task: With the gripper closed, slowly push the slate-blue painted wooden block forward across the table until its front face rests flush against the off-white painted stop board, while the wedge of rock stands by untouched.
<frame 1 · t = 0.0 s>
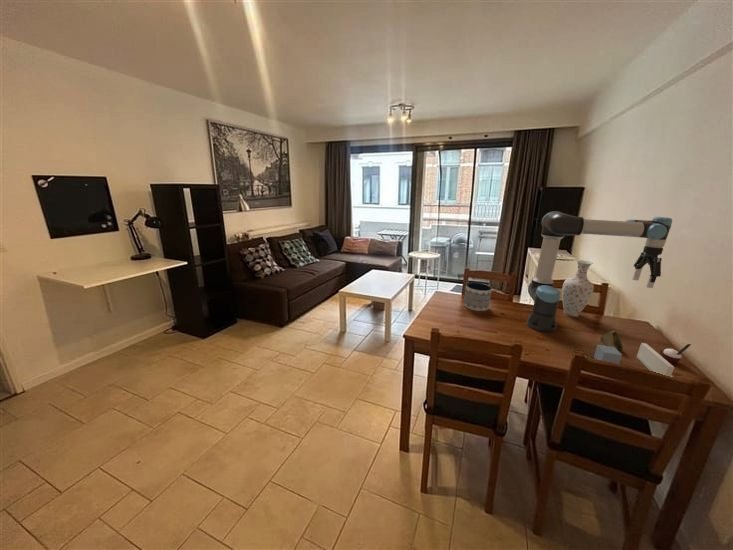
hand: (642, 283, 168), 28 cm above the table, fingers open, 13 cm apart
block: (605, 362, 142), on the table
vase: (571, 314, 194), on the table
planter: (475, 306, 202), on the table
rock: (610, 346, 157), on the table
board: (651, 369, 137), on the table
cocoa: (669, 361, 144), on the table
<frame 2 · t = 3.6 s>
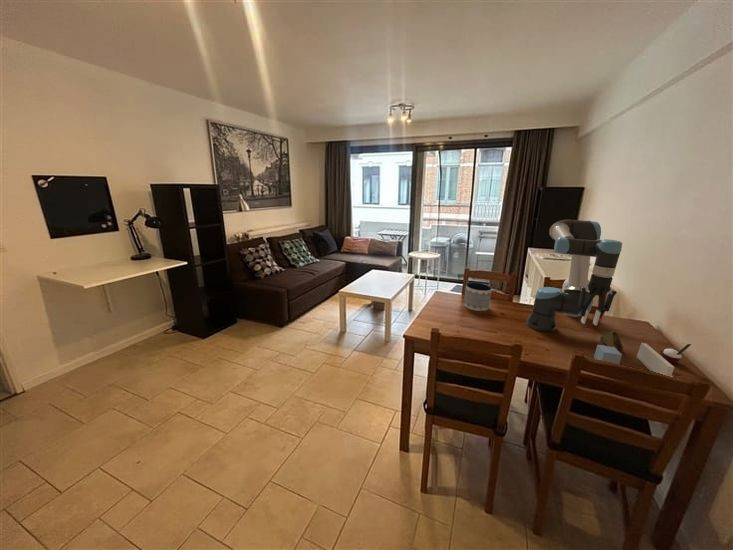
hand: (588, 323, 139), 19 cm above the table, fingers open, 4 cm apart
nothing on the table moved.
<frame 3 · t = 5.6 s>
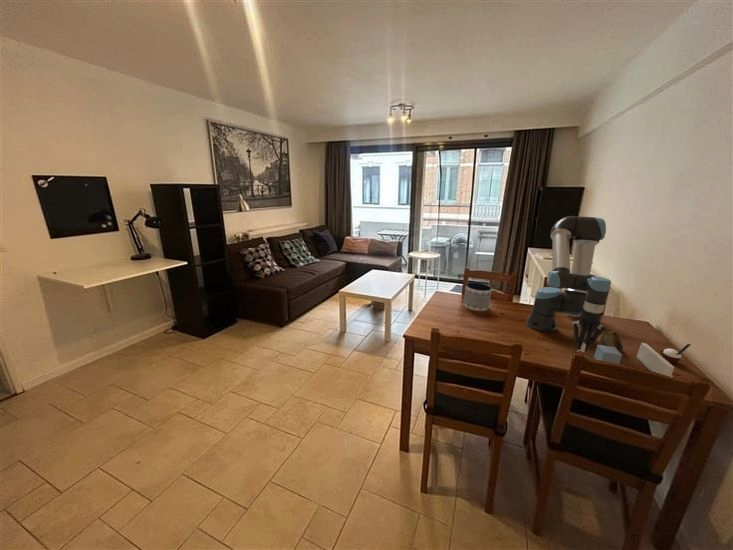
hand: (579, 355, 144), 1 cm above the table, fingers closed
nothing on the table moved.
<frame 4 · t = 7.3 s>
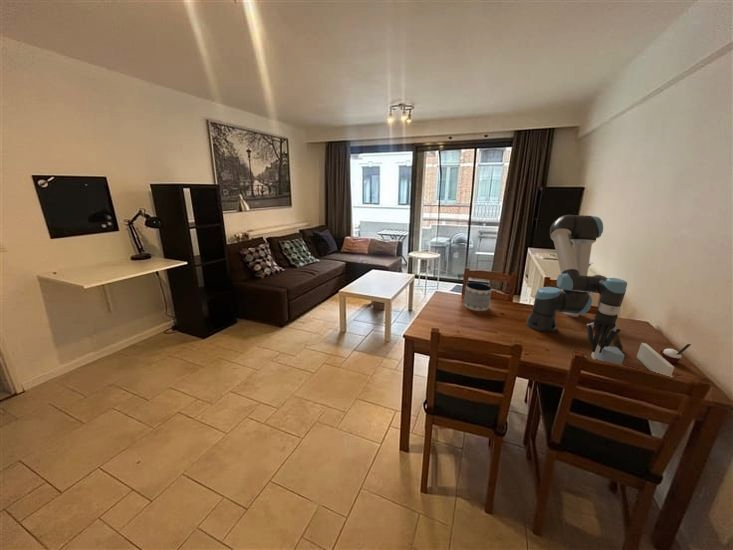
hand: (593, 357, 142), 2 cm above the table, fingers closed
block: (607, 362, 141), on the table, touching gripper
everything else where it was.
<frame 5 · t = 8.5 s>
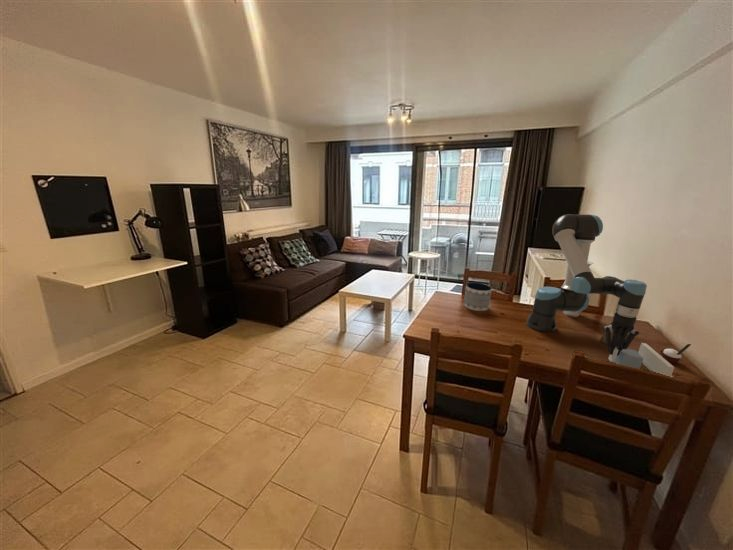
hand: (611, 360, 141), 2 cm above the table, fingers closed
block: (625, 365, 140), on the table, touching gripper
everything else where it was.
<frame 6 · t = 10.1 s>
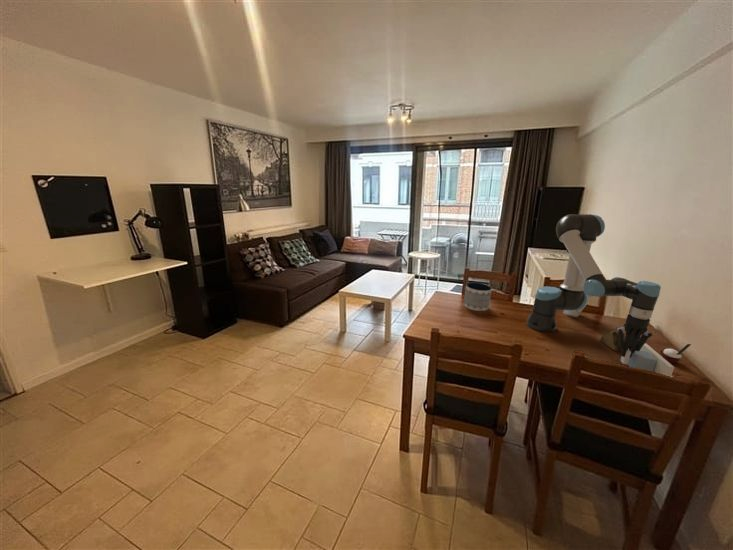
hand: (623, 362, 139), 1 cm above the table, fingers closed
block: (638, 367, 138), on the table, touching gripper
everything else where it was.
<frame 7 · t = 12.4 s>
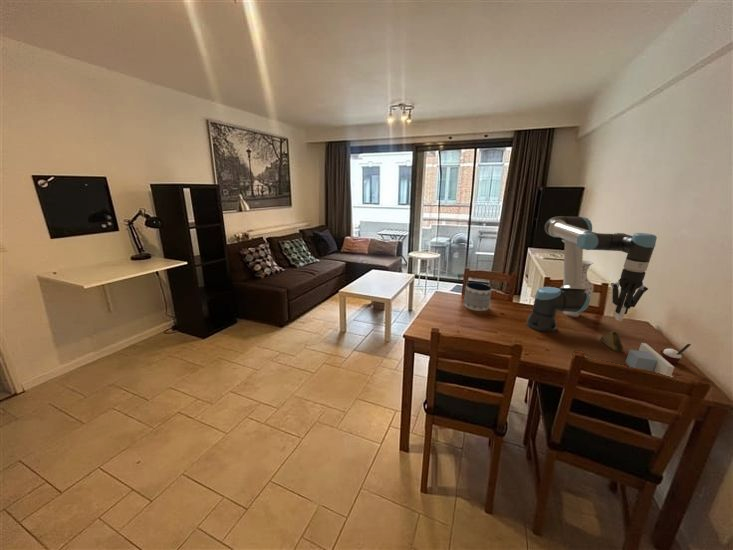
hand: (618, 319, 135), 22 cm above the table, fingers closed
block: (638, 367, 138), on the table
everything else where it was.
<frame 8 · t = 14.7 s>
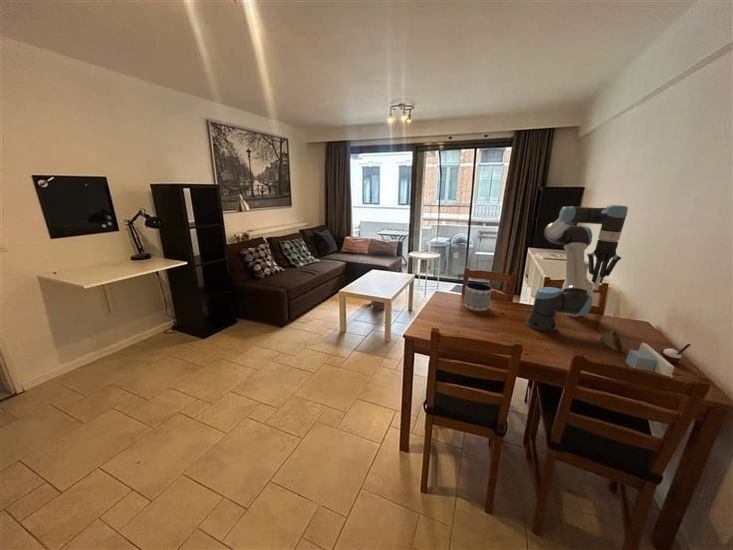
hand: (594, 289, 143), 32 cm above the table, fingers closed
nothing on the table moved.
at the end: block inside the target area on the board (0.3 cm from its centre), point 0.0 cm above the board's base; block tilted 0°; block moved 13.0 cm from its start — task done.
